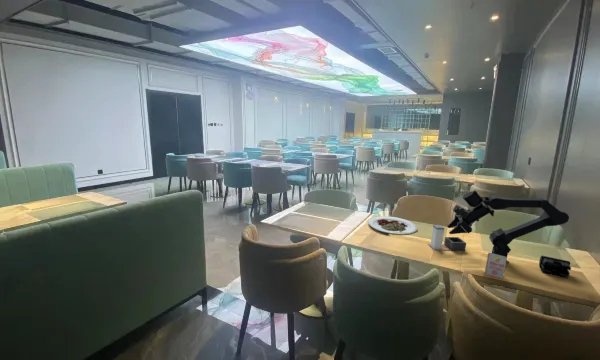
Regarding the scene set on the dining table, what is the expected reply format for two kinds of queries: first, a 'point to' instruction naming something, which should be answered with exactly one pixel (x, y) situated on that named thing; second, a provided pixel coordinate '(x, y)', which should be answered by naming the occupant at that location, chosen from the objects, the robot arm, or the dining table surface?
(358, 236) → the dining table surface
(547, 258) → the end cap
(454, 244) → the socket deck
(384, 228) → the plated food
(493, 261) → the tea bag
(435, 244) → the plug
